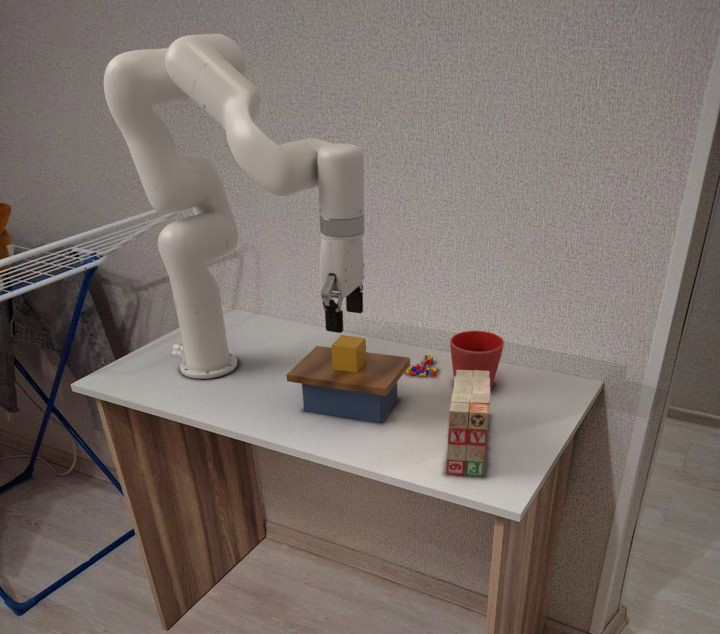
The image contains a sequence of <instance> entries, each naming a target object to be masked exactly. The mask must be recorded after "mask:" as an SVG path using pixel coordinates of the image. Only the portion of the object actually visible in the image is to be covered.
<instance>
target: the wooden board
mask: <svg viewBox="0 0 720 634" xmlns="http://www.w3.org/2000/svg"><path fill="white" fill-rule="evenodd" d="M409 366H411V357H408V356H400V355H394V354H393V355H392V354H384V353H378V352H368V351H366V363H365V364H364V365H363V367H362V368H361V369H360V370H359V371H358V372H357V373H354V372H347V371H340V370H333V365H332V349H331V347H328V346H322V345H316V346H314V348H313V349H311V351H309V353H307V354H306V355H305V357H303V358H302V359H301V360H299V362H298V363H297V364H296V365H295V366H294V367H292V368H291V369H290V370H289V372H287V373H286V382H287V383H296V384H301V385H302V384H308V385H315V386H321V387H328V388H335V389H342V390H348V391H355V392H362V393H369V394H376V395H382V396H387V395H388V394H389V392H390V391H391V390H392V388H393V387H394V385H395V384H396V383H397V384H398V382H399V380H400V379H401V377H402V376H403V375H404V373H406V370H407V368H408V367H409Z"/></svg>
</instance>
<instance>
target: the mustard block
mask: <svg viewBox="0 0 720 634" xmlns="http://www.w3.org/2000/svg"><path fill="white" fill-rule="evenodd" d="M330 346H331V347H330V348H331V349H332V365H333V370H340V371H347V372H354V373H357V372H358V371H359V370H360V369H361V368H362V367H363V365H364V364H365V363H366V352H367V338H366V337H363V336H362V337H360V336H352V335H343V334H341V335H340V336H339V337H338V338H337V339H335V341H333V343H332V344H331V345H330Z"/></svg>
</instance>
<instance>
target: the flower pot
mask: <svg viewBox="0 0 720 634" xmlns="http://www.w3.org/2000/svg"><path fill="white" fill-rule="evenodd" d="M449 346H450V348H449V349H450V358H451V365H452V373H453V374H452V375H453V378H454V377H456V370H472V371H473V370H479V371H490V374H489V378H490V389H491V388H492V387H493V385H494V382H495V378H496V375H497V371H498V368H499V365H500V361H501V357H502V354H503V351H504V346H505V341H504V338H503V337H501V335H499V334H496V333H493V332H490V331H485V330H467V331H462V332H457V333H455V334H454V335H452V336H451V337H450V340H449Z"/></svg>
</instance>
